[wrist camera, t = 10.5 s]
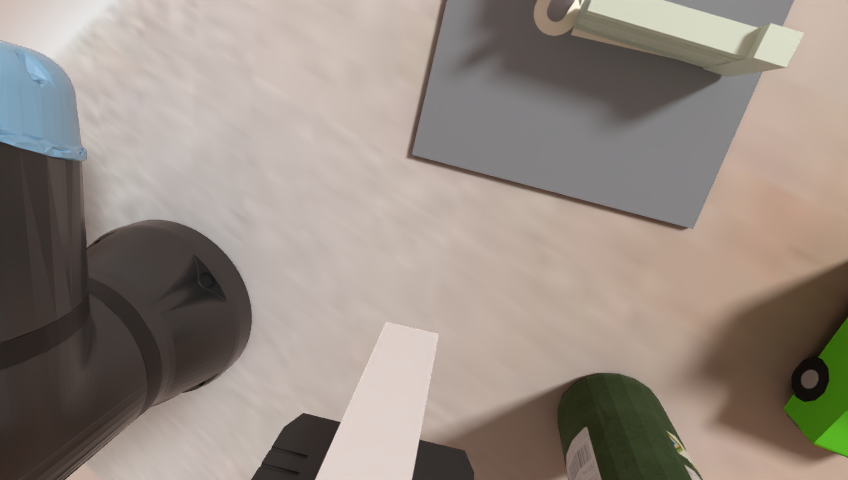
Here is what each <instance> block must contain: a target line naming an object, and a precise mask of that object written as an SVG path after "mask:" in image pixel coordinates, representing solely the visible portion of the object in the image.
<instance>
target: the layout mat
mask: <svg viewBox="0 0 848 480" xmlns="http://www.w3.org/2000/svg"><path fill="white" fill-rule="evenodd" d="M550 1H551V0H447V2H446V6H445V11H444V15H443V19H442V24H441V28H440V33H439V37H438V41H437V46H436V50H435V55H434V59H433V63H432V68H431V72H430V77H429V81H428V85H427V90H426V94H425V99H424V103H423V107H422V112H421V116H420V121H419V125H418V129H417V134H416V138H415V143H414V147H413V151H412V155H415V156H418V157H422V158H426V159H430V160H433V161H437V162H441V163H445V164H449V165H452V166H456V167H460V168H464V169H468V170H471V171H475V172H479V173H483V174H487V175H490V176H494V177H498V178H502V179H506V180H509V181H513V182H517V183H521V184H525V185H528V186H532V187H536V188H540V189H543V190H547V191H551V192H555V193H559V194H562V195H566V196H570V197H574V198H578V199H581V200H585V201H589V202H593V203H597V204H600V205H604V206H608V207H612V208H616V209H619V210H623V211H627V212H631V213H635V214H638V215H642V216H646V217H650V218H653V219H657V220H661V221H665V222H669V223H672V224H676V225H680V226H684V227H688V228H691V229H693V228H694V226H695V223H696V221H697V219H698V217H699V214H700V212H701V210H702V208H703V205H704V203H705V201H706V199H707V196H708V194H709V192H710V189H711V187H712V185H713V183H714V180H715V178H716V176H717V174H718V171H719V169H720V167H721V165H722V162H723V160H724V158H725V155H726V153H727V151H728V149H729V146H730V144H731V142H732V140H733V137H734V135H735V133H736V131H737V128H738V126H739V124H740V121H741V119H742V117H743V115H744V112H745V110H746V108H747V106H748V103H749V101H750V99H751V97H752V94H753V92H754V90H755V87H756V85H757V83H758V81H759V78H760V76H761V74H762V72H763V71H762V72H756V73H750V74H744V75H738V76H732V77H727V76H724V75H721V74H717V73H714V72H711V71H707V70H704V69H703V68H704V67H700V66H697V65H694V64H690V63H687V62H684V61H680V60H677V59H674V58H670V57H667V56H664V55H660V54H657V53H654V52H650V51H647V50H644V49H640V48H637V47H634V46H630V45H627V44H624V43H620V42H617V41H614V40H610V39H607V38H604V37H600V36H597V35H594V34H590V33H587V32H584V31H581V30H577V29H574V28H573V27H574V24H575V21H576V19H577V16H578V13H579V10H580V8H581V5H582V3H583V2H584V1H585V0H575V1H574V3H573V4H572V6H571V7H570V9H569V10H568V12H567V14H566V15H565V17H564V18H563V19H562V20H560V21H558V22H553V21H551V20H550V19H549V18H548V16H547V9H548V6H549V4H550ZM664 1H668V2H671V3H675V4H678V5H682V6H685V7H688V8H692V9H695V10H699V11H702V12H706V13H709V14H712V15H716V16H719V17H723V18H726V19H730V20H733V21H736V22H740V23H743V24H747V25H750V26H754V27H757V28H758V27H761V26H764V25H767V24H770V23H772V24H775V25H779V26H783V24H784V22H785V19H786V17H787V15H788V13H789V10H790V8H791V6H792V4H793V1H794V0H664Z"/></svg>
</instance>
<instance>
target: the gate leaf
mask: <svg viewBox="0 0 848 480" xmlns="http://www.w3.org/2000/svg"><path fill="white" fill-rule="evenodd" d="M573 28H574V29H577V30H581V31H584V32H587V33H590V34H594V35H597V36H600V37H604V38H607V39H610V40H614V41H617V42H620V43H624V44H627V45H630V46H634V47H637V48H640V49H644V50H647V51H650V52H654V53H657V54H660V55H664V56H667V57H670V58H674V59H677V60H680V61H684V62H687V63H690V64H694V65H697V66H700V67H704V68H703V69H704V70H707V71H711V72H714V73H717V74H721V75H724V76H727V77H732V76H738V75H744V74H750V73H756V72H762V71H768V70H773V69H779V68H785V67H787V65H788V63H789V61H790V59H791V57H792V56H793V54H794V52H795V50H796V48H797V46H798V44H799V42H800V40H801V38H802V36H803V35H804V33H803V32H799V31H796V30H792V29H789V28H785V27H782V26H779V25H775V24H772V23H770V24H767V25H764V26H761V27H758V28H757V27H754V26H750V25H747V24H743V23H740V22H736V21H733V20H730V19H726V18H723V17H719V16H716V15H712V14H709V13H706V12H702V11H699V10H695V9H692V8H688V7H685V6H682V5H678V4H675V3H671V2H668V1H664V0H585V1H584V2H583V3H582V5H581V8H580V10H579V13H578V16H577V19H576V21H575V24H574V27H573Z"/></svg>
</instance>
